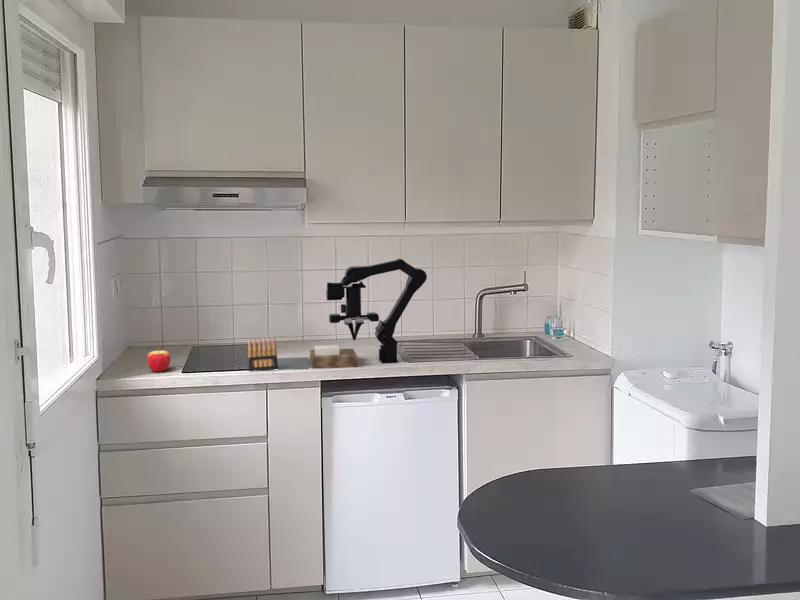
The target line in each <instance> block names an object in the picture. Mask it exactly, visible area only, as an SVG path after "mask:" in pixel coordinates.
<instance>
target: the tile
mask: <svg viewBox="0 0 800 600" xmlns="http://www.w3.org/2000/svg"><path fill="white" fill-rule="evenodd" d="M313 347H314V349H313V350H314V352H315V355H316V356H321V355H339V349H340V347H339V345H338V344H330V345H325V344H324V345H314V346H313Z"/></svg>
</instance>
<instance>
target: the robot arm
mask: <svg viewBox="0 0 800 600" xmlns="http://www.w3.org/2000/svg"><path fill="white" fill-rule="evenodd" d="M395 271H401V272H403V274H406V275H407V278H406V282H405V286H404V289H403V290H402V292H401V293H400V296H399V297H398V299H397V300H396V302H395V304H394V305H393V307H392V309H391V311H390V312H389V314H388V316H387V318H385V319H384V320H382V319H380V316H379V314H378V313H377V312H375V311H374V312H366V314H362V291H361V290H362V289H366V288H367V286H366V285H365V284H364V282H363V281H364V280H366V279H367V278H370V277H372V276H376V275H380V274H381V275H382V274H385V273H389V272H390V273H391V272H395ZM427 277H428V276H427V273H426V271H424V270H423V269H422V268H418V267H416V268H415V267H414V266H412V265H411V264H409V263H407V262H406V261H405V260H404V259H402V258H397V259H393V260H389V261H386V262H380V263H376V264H372V265H355V266H354V265H353V266H349V267H347V268H346V269H345V272H344V276H343V277H342V279H341V280H340V282H330V281H329V282H326V289H325V292H326V293H325V295H326V301H342V299H344V298H345V303H343V304H340V313H341V314H345V315H341V314H340V313H330V314H329V315H328V322H329V323H330V324H339V323H340V322H341V321H343V323H344V325H345V326H347V327H348V330H349V331H350V335H351V337H352V340H353V341H356V339H357V337H358V336H357V335H358V333H359V331H360V328H361V326H362V325H364V324H365V322H364V321H367V320H369V321H370V322H372V323H373V322H378V324H377V325H376V326H375V327H374V329H375V331H374V335H375V336H374V337H375V338H376V339H377V340H378V342H380V345H379V348H378V361H380V363H382V364H386V363H387V364H388V363H391V364H392V363H399V360H398V341H397V339H395V338H394V337H393V336H394V333H395V329H396V326H397V323H398V322H399V320H400V318H401V316H402V315H403V313H404V311H405V310H406V308H407V306H408V305H409V303H410V301H411V299H412V298H413V296H414V294H415V293H416V292H418V290H419V289H420V288H421V287H422V286H423V285H424V284H425V282H426V281H427ZM353 321H354V323H353Z"/></svg>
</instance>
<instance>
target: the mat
mask: <svg viewBox="0 0 800 600" xmlns="http://www.w3.org/2000/svg"><path fill="white" fill-rule="evenodd" d="M277 362H278V369H292V370H310V369H309V368H311V369H312V365H311V362H310V357H308V356H306V357H305V356H304V357H280V358H279V357H277Z"/></svg>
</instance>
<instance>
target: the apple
mask: <svg viewBox="0 0 800 600" xmlns="http://www.w3.org/2000/svg"><path fill="white" fill-rule="evenodd" d="M146 361H147V365H148V367H149V369H150V370H151V371H152V372H155V373H161V372H165V371H167V369H168V368H169V367H170V364H171V353H170V352H169V351H167V350H162V349H161V350H160V343H158V347H157V350H153V351H150V352H148V354H147V357H146Z"/></svg>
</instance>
